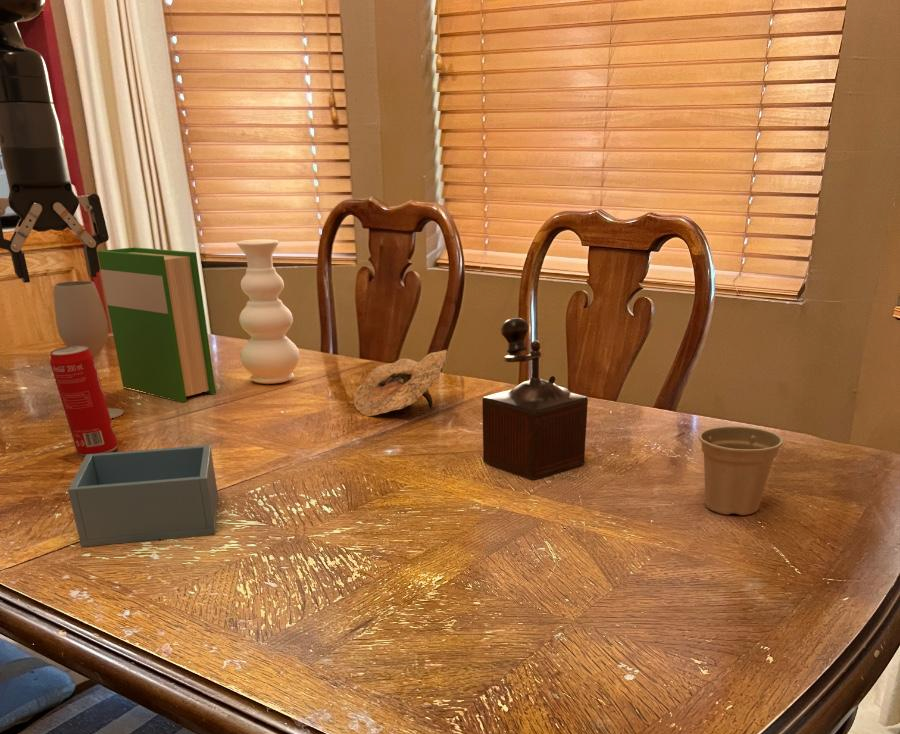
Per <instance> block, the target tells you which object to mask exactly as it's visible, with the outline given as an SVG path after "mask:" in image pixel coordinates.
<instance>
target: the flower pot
mask: <svg viewBox="0 0 900 734" xmlns="http://www.w3.org/2000/svg"><path fill="white" fill-rule="evenodd" d="M698 440H699V442H700V443H701V452H702V454H703V470H704V472H703V473H704V504H705V507H706V508H707V509H708V510H710V511H712V512H714V513H717V514H719V515H725V516H728V515H731V514H736V515H739V516H747V515H751V514H754V513H756V512H757V511H758V510H759V509H760V506H761V501H762V498H763V495H764V491H765V488H766V484H767V481H768V478H769V474H770V472H771V468H772V465H773V462H774V459H775V458H776V457H777V455H778V453H779V450H780V448H782V446H783V445H784V438H783V437H782V436H781V435H780V434H778V433H776V432H773V431H772V430H771V431H770V430H767V429H763V428H758V427H752V426H739V425H736V426H735V425H725V426H716V427H715V426H714V427H709V428H706V429H703V430H702V431H700V432H699V433H698Z"/></svg>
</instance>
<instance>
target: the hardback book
mask: <svg viewBox="0 0 900 734" xmlns="http://www.w3.org/2000/svg"><path fill="white" fill-rule="evenodd" d="M97 255H98V261H99V266H100V273H101V278H102V283H103V289H104V294H105V300H106V304H107V309H108V315H109V321H110V325H111V330H112V335H113V341H114V346H115V351H116V356H117V362H118V366H119V373H120V377H121V383H122V388H123V387H126V388H131V389H135V390H139V391H143V392H146V393H150V394H154V395H157V396H162V397H165V398H170V399H174V400H177V401H176V402H178V401H181V402H180V403H185V402H184V401H186V402H187V397H190V396H194V395H198V394H203V393H202V392H206V393H210V394H213V393H216V394H217V392H216V385H215V378H214V370H213V364H212V356H211V348H210V341H209V334H208V327H207V322H206V321H207V320H206V313H205V308H204V307H205V306H204V299H203V291H202V285H201V279H200V272H199V265H198V258H197V252H196V251H185V250H174V249H173V250H172V249H160V248H148V247H137V246H135V247H134V246H133V247H132V246H131V247H124V248H114V249H103V250H97ZM206 393H205V394H206ZM210 394H209V395H210ZM213 395H214V394H213ZM157 396H156V397H157ZM165 398H164V399H165ZM170 399H169V400H170ZM174 400H173V401H174Z"/></svg>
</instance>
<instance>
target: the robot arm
mask: <svg viewBox="0 0 900 734" xmlns="http://www.w3.org/2000/svg"><path fill="white" fill-rule="evenodd" d="M45 4H46V0H0V153H1V158H2V162H3V166H4V171H5V176H6V180H7V184H8V191H9V194H8V196H7V197H0V249H3V250H6V251H8V252H9V254H10V257H11V261H12V267H13V270H14V274H15V277H16V278H18V279H21V281H22V283H24V284H26V283H29V284H30V283H31V279H30V275H29V269H28V265H27V261H26V255H25V253H24V252H23V250H22V248H23V246H24V244H25V242H26V241H27V239H28V237H29V236H30V234H31V232H32V230H33V231H35V232H38V233H41V232H42V233H44V232H47V231H48V232H49V231H56V232H62V231H65V230H66V229H68V230H69V231H70V232H71V233H72V234H73V235H74V236H75V237H76V238H77V239H78V240H79V241H80V242H81V243H82V244H83V246H84V247H82V250H83V256H84V261H85V266H86V271H87V275H88V277H89V278H90V279H91V278H92V279H93V278H97V273H100V272H101V268H100V263H99V258H98V253H97V251H98V249H97V248H98V246H99V245H101V244H103V243H106V242H108V241H109V240H110V236H109V232H108V228H107V223H106V219H105V215H104V210H103V207H102V203H101V198H100V196H99V194H97V193H93V192H91V193H87V194H84V195H77V194H75V192H74V190H73V186H72V180H71V176H70V169H69V164H68V159H67V154H66V150H65V149H66V148H65V139H64V135H63V133H62V130H61V129H62V128H61V124H60V120H59V118H58V113H57V111H56V108H55V104H54V99H53V98H54V97H53V93H52V87H51V84H50V78H49V77H50V76H49V71H48V69H47V65H46V62H45V59H44V57H43V55H42V54H41V53H40V52H39V51H37V50H35V49H33V48H31V47H28V46H26V44H25V43H24V40H23V38H22V35H21V32H20V30H19V27H18V25H17V23H22V22H28V21H31V20H33V19H34V18H37V16H39V15H40V14H41V12H42V11H43V9H44V7H45ZM79 205H81V206H82V207H83V210H84V211H85V212H87V213H89V215H90V219H91V223H92V227H93V231H94V233H93V234H90V233H89V232H88V231H87V230H86V229H85V228H84V226H83V225H81V223H80V222H79V221H78V220H77V219H76V218H75V217H74V216H75V214H76V211H77V210H78V208H79ZM8 207H9V208H10V209H11V210H12V211H13V213H14V214H16V215H17V217H19V218H20V219H19V220H18V221H17V224H16V226H15V227H14V230H13V233H12V235H11V237H10V239H7V238H5V237H4V231H3V225H2V218H1V217H2V216H4V215H5V214H6V210H7V208H8Z"/></svg>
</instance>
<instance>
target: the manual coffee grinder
mask: <svg viewBox="0 0 900 734" xmlns="http://www.w3.org/2000/svg"><path fill="white" fill-rule="evenodd" d="M528 332H529V324H528V322H527V320H524V319H523V318H521V317H514V318H509V319H507V320H505V321H504V322H503V323H502V324H501V326H500V333H501V335H502V336H503V337H504V338H505V340H506V342H507V343H508V346H507V350H506V352H507V353H508V354H507V355H504V362H506V363H525V362H529V361H531V377H530V380H526V381H522V382H520V383H519V384H517V385H516V386H514V387H513V388H511V389H508V390H505V391H500V392H496V393H493V394H489V395H486V396H482V403H481V404H482V405H481V406H482V454H483V457H482V460H483V462H484V463H486V464H487V465H489V466H491V467H493V468H496V469H500V470H502V471H504V472H507V473H509V474H512V475H516V476H519V477H522V478H526V479H529V480H531V481H533V480H537V479H541V478H545V477H548V476H551V475H555V474H558V473H561V472H564V471H568V470H570V469H574V468H577V467H580V466H583V465H584V464H585V463H586V458H585V453H586V441H587V439H586V438H587V423H588V405H589V398H588V396H587V395H581V394H578V393H574V392H571V391H570V390H569V389H568V388H566V387H563V386H559V385H558V384H556V383H555V382H556V376H554V375H551V376H550V377H549V379H548V380H546V379H543V378H540V366H539V365H540V358H541V357H542V352H541V351H540V349H541V343H540V341H539V340H534V341H531V342H530V349H531V351H530V352H529V353H530V354H527V355H521V354H522V353H523V352H524V351H527V349H528V347H527V346H526V344H525V339H526V336H527V334H528Z"/></svg>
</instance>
